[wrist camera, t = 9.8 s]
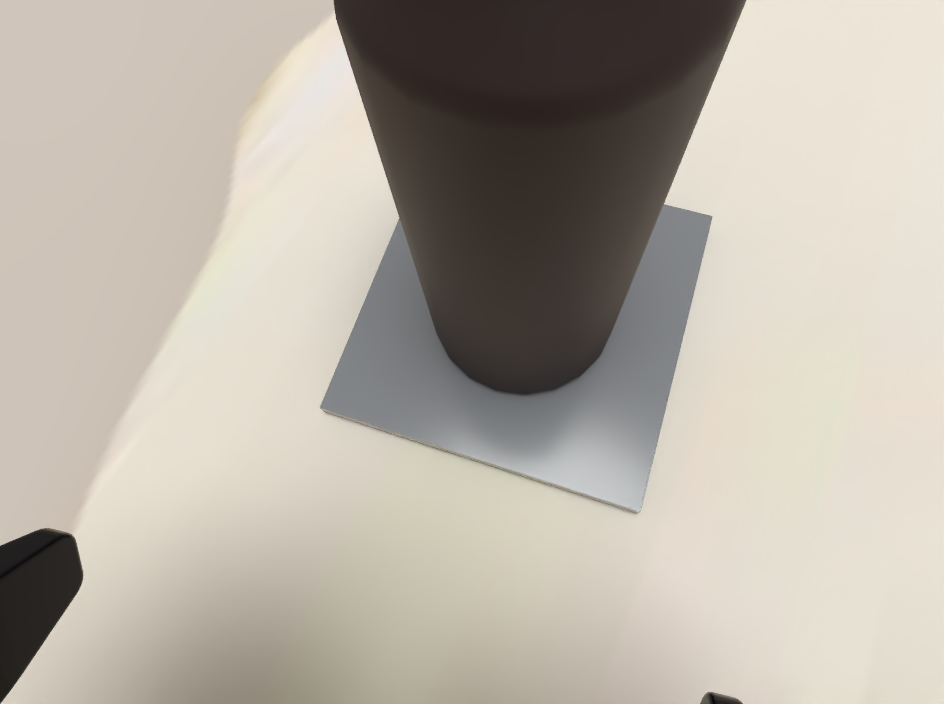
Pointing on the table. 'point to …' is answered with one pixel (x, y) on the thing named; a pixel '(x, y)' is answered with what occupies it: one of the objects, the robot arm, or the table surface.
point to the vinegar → (531, 159)
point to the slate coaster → (536, 414)
